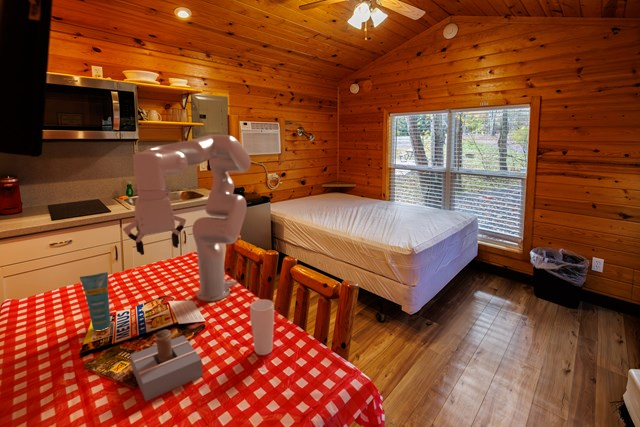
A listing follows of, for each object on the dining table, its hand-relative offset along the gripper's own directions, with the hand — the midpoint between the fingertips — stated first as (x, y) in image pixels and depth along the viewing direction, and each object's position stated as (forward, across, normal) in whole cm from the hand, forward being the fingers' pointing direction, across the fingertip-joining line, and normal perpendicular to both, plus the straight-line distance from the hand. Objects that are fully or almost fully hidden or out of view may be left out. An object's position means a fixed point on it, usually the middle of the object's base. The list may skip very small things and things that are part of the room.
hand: (159, 250), depth 103 cm
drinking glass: (+28, -19, +28) cm, 44 cm away
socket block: (+28, +6, +20) cm, 35 cm away
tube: (+28, +16, -16) cm, 36 cm away
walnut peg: (+28, +6, +20) cm, 35 cm away
